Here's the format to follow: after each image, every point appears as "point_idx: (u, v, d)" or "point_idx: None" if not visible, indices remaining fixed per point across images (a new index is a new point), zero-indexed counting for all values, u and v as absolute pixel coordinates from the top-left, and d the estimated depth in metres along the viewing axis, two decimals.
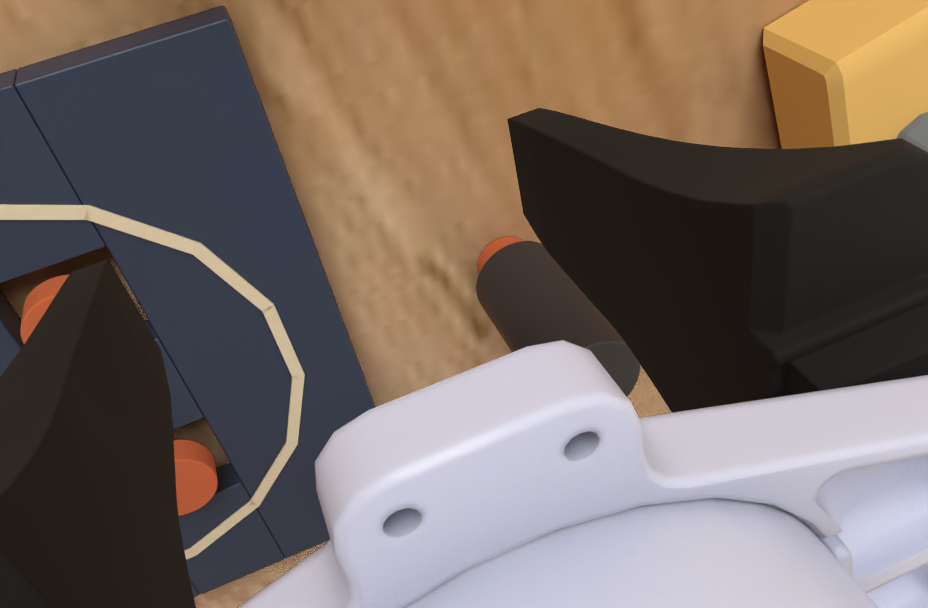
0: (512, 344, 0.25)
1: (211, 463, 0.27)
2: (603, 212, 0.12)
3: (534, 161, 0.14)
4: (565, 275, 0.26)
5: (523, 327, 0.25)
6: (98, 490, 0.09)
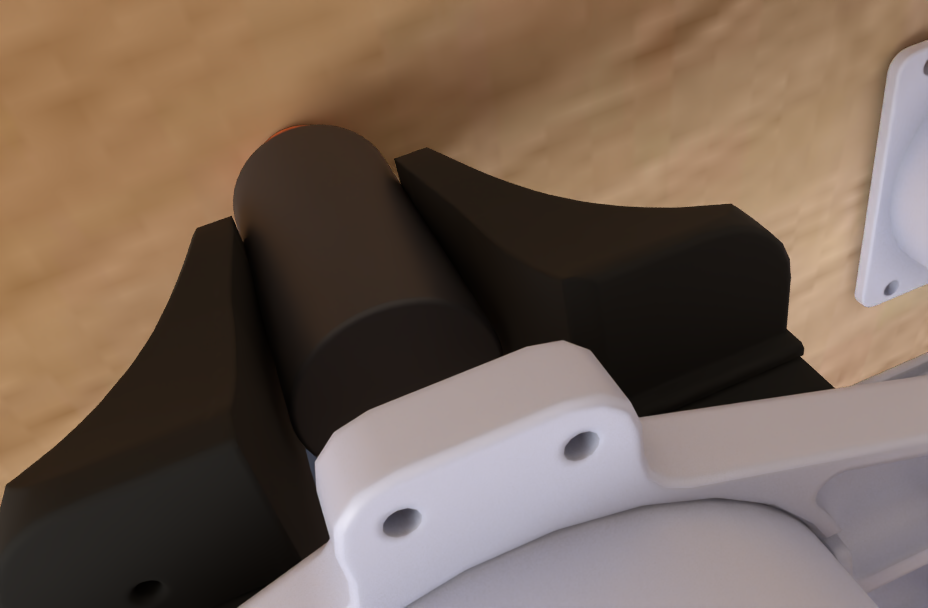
0: None
1: None
2: (471, 262, 0.12)
3: (417, 204, 0.13)
4: (255, 236, 0.13)
5: None
6: (270, 423, 0.10)
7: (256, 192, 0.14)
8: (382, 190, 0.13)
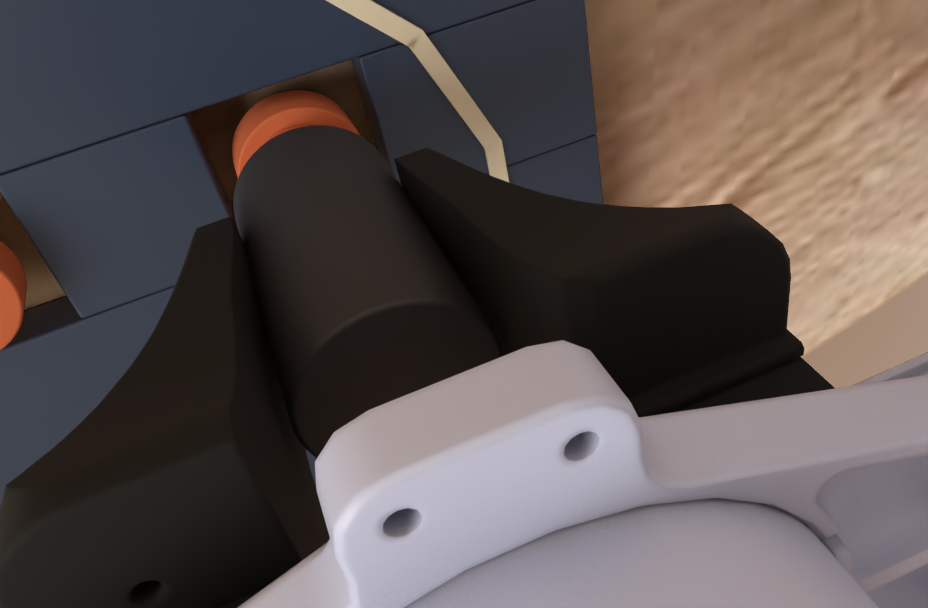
0: None
1: (271, 108, 0.16)
2: (471, 262, 0.12)
3: (417, 204, 0.13)
4: (255, 236, 0.13)
5: None
6: (270, 423, 0.10)
7: (256, 193, 0.14)
8: (382, 191, 0.13)
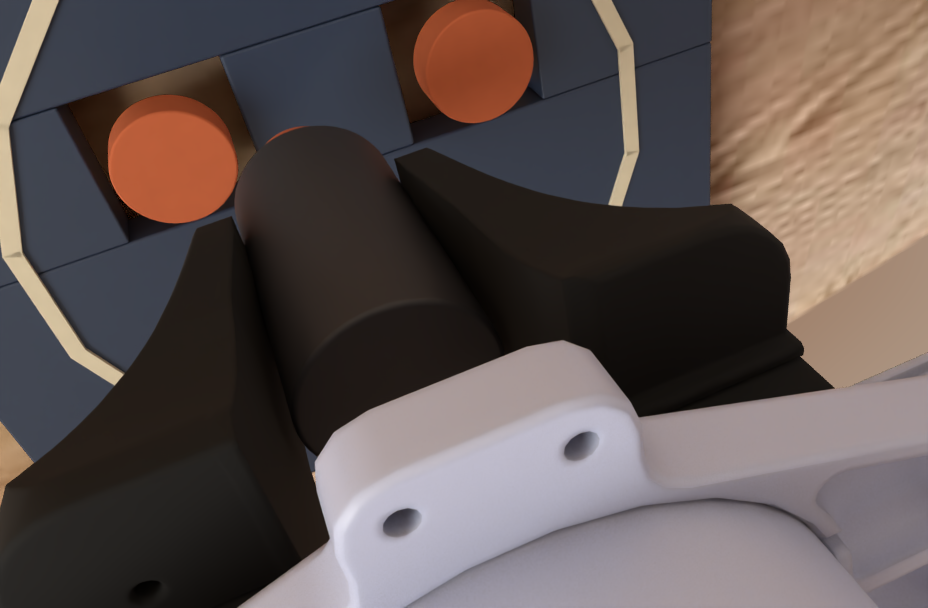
0: None
1: (457, 11, 0.18)
2: (471, 262, 0.12)
3: (417, 203, 0.13)
4: (256, 237, 0.13)
5: None
6: (269, 423, 0.10)
7: (256, 193, 0.14)
8: (384, 191, 0.13)
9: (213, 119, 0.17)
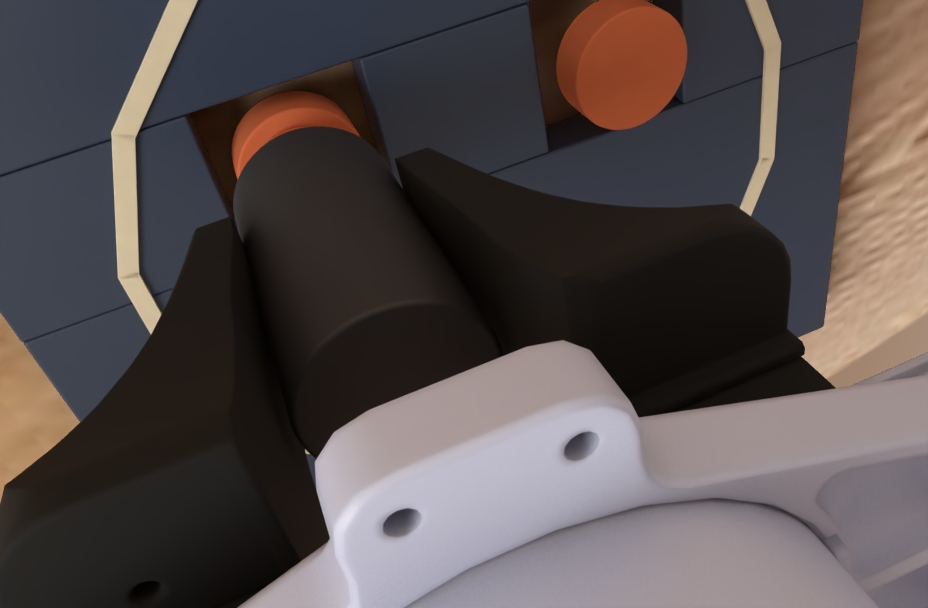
0: None
1: (612, 8, 0.16)
2: (472, 262, 0.12)
3: (417, 203, 0.13)
4: (254, 237, 0.13)
5: None
6: (270, 423, 0.10)
7: (255, 194, 0.14)
8: (382, 192, 0.13)
9: (344, 116, 0.16)
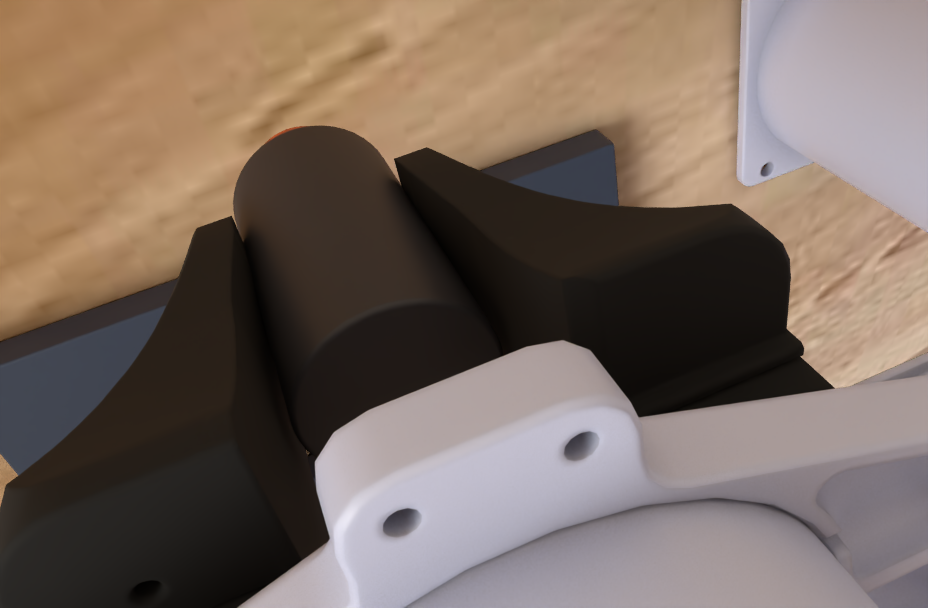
0: None
1: None
2: (471, 262, 0.12)
3: (417, 204, 0.13)
4: (255, 237, 0.13)
5: None
6: (270, 423, 0.10)
7: (256, 193, 0.14)
8: (382, 191, 0.13)
9: None
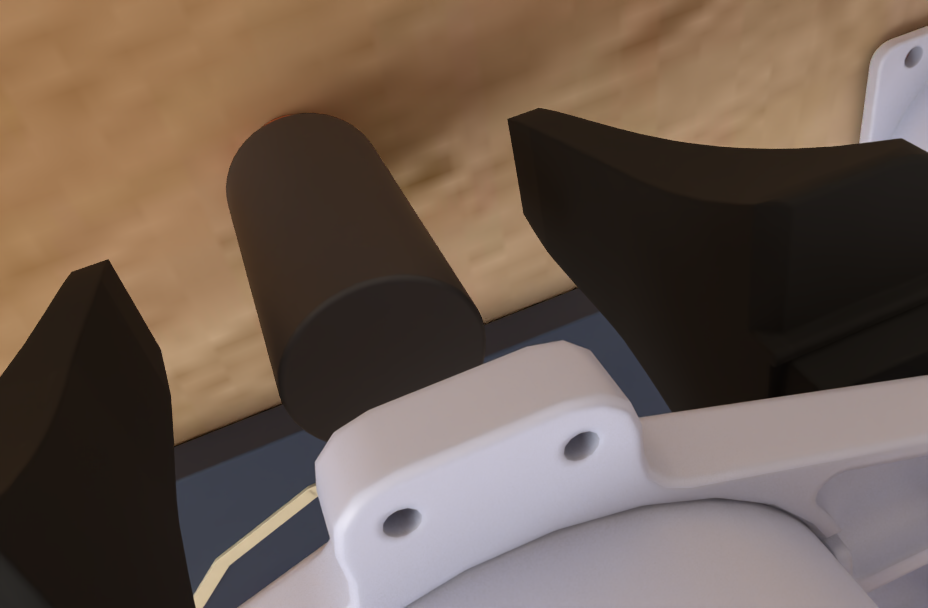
0: None
1: None
2: (603, 212, 0.12)
3: (534, 161, 0.14)
4: (247, 219, 0.13)
5: None
6: (99, 490, 0.09)
7: (247, 178, 0.14)
8: (369, 175, 0.13)
9: None
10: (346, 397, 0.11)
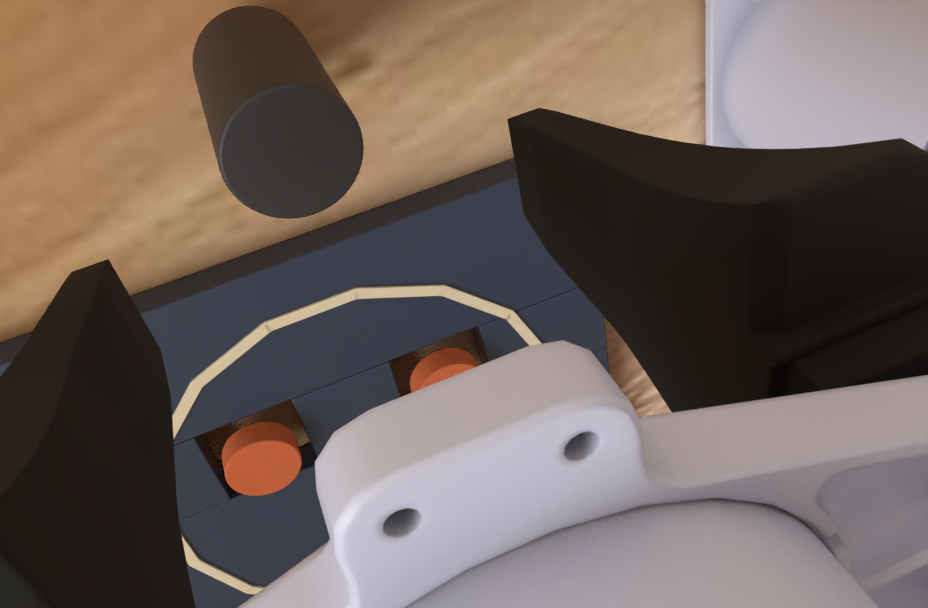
0: None
1: (437, 364, 0.29)
2: (603, 212, 0.12)
3: (534, 161, 0.14)
4: (204, 72, 0.19)
5: None
6: (98, 490, 0.09)
7: (205, 47, 0.19)
8: (290, 40, 0.19)
9: (287, 438, 0.28)
10: (266, 175, 0.17)
